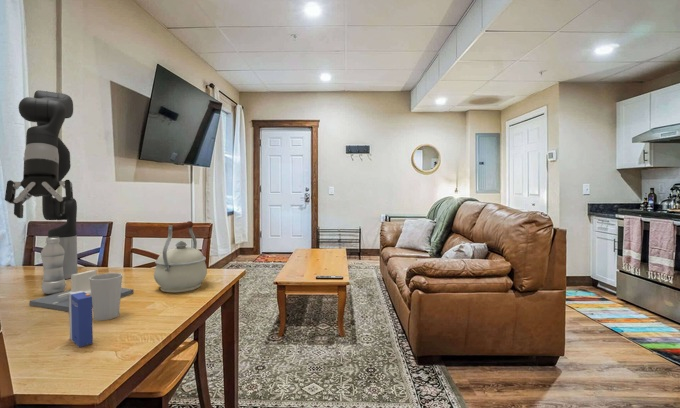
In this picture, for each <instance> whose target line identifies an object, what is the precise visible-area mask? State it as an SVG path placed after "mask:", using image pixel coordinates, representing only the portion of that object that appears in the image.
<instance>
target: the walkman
mask: <svg viewBox="0 0 680 408" xmlns="http://www.w3.org/2000/svg"><path fill="white" fill-rule="evenodd" d="M68 314H69V316H68V317H69V319H68V320H69V321H68V322H69V325H68V326H69V339H70V340H71V341H72V342H73V343H74V344H75V345H76V346H77V347H78V348H82V347H86V346H89V345H91V344H93V343H94V338H93V337H94V335H93V334H94V333H93V332H94V329H93V307H92V297H91V296H90V295H89V294H87V293H85V292H83V291H77V292H71V293H69V312H68Z"/></svg>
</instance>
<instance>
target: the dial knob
mask: <svg viewBox="0 0 680 408" xmlns="http://www.w3.org/2000/svg"><path fill="white" fill-rule="evenodd" d="M97 273H98V271H97V270H96V269H95V270H94V269H90V270H86V271H82V272H77V274H73V275H71V278H70V279H71V280H70V281H71V282H70V283H71V289H70V290H71V291H70V292H68V293H64V294H61V295H58V297H64V296H67V295H69V293H71V292H77V291H83V292H85V293H87V294H89V295H90V296H91V288H90V281H89V278H90V277H92V276H94V275H98V274H97Z"/></svg>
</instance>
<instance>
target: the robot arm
mask: <svg viewBox="0 0 680 408" xmlns="http://www.w3.org/2000/svg"><path fill="white" fill-rule="evenodd" d="M18 112H19V114H20V117H21V118H23V119H24V120H25V121H27V122H31V123H36V125H35V126H31V127H28V129H27V130H26V134H25V135H26V136H25V137H26V138H25V149H24V153H23V155H24V156H23V171H22V172H23V173H22V174H23V176H22V180H21V181H13V180H11V179H10V180H7V182H6V188H5V194H4V201H6V202H7V203H8V204H13V214H14V216H15V217H17V218H18V219H23V218H24V207H25V206H24V205H23V204H24V203H25V202H26V201H28V200H30V199H31V198H32V197H34V198H39V197H42V199H41V202H42V203H41V204H42V206H41V208H42V210H41V211H42V216H43V218H44V219H45V220H46V221H65V220H66V222H64V223H63V224H62V225H60V226H58V227H55V228H51V229H49V230H48V231H47V237H59V241H60V242H59V245H61V246H62V248H63V249H64V251H65V253H64V260H63V274H64V279H65V280H67V279H71V275H73V274H77V273H78V239H77V238H78V234H77V233H78V232H77V217H78V216H77V215H78V214H77V213H78V205H77V203H78V202H77V200H76V198H74V193H73V182H72V181H71V180H70V179H65V180H63V179H64V178H65V177H66V175H68V173H69V172H70V170H71V152H70V150H69V148H68V146H67V145H66V144H65V143H64V142H63V140H61V139H60V137H59V135H60V131H61V129H62V126H63V124H64V122H65V120H66V119H70V118H71V117H72V116H73V114H74V102H73V99H72V97H71V96H70V95H68V94H66V93H62V92H54V91H47V90H46V91H45V90H36V91H35V92H34V94H33V97H30V96H29V97H28V96H27V97H24V98H22V99H21V100H20V101H19V104H18ZM20 187H22V188H23V189H22V190H21V191H20V192H19V194H18V196H17V197H16V193H17V192H16V191H17V190H18V189H20ZM60 187H62V188H63V189H65V190H64V192H65V196H61V195H60V194H59V192H57V190H58V189H59V188H60Z"/></svg>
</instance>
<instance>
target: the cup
mask: <svg viewBox="0 0 680 408" xmlns="http://www.w3.org/2000/svg"><path fill="white" fill-rule="evenodd" d="M122 280H123V274H122V273H120V272H105V273H100V274H99V273H98V274H97V275H94V276H92V277H90V278H89V281H90V288H91V297H92V306H93V307H92V320H94V321H106V320H111V319H115V318H118V316H120V306H121V298H120V296H121V288H122V282H123V281H122Z"/></svg>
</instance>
